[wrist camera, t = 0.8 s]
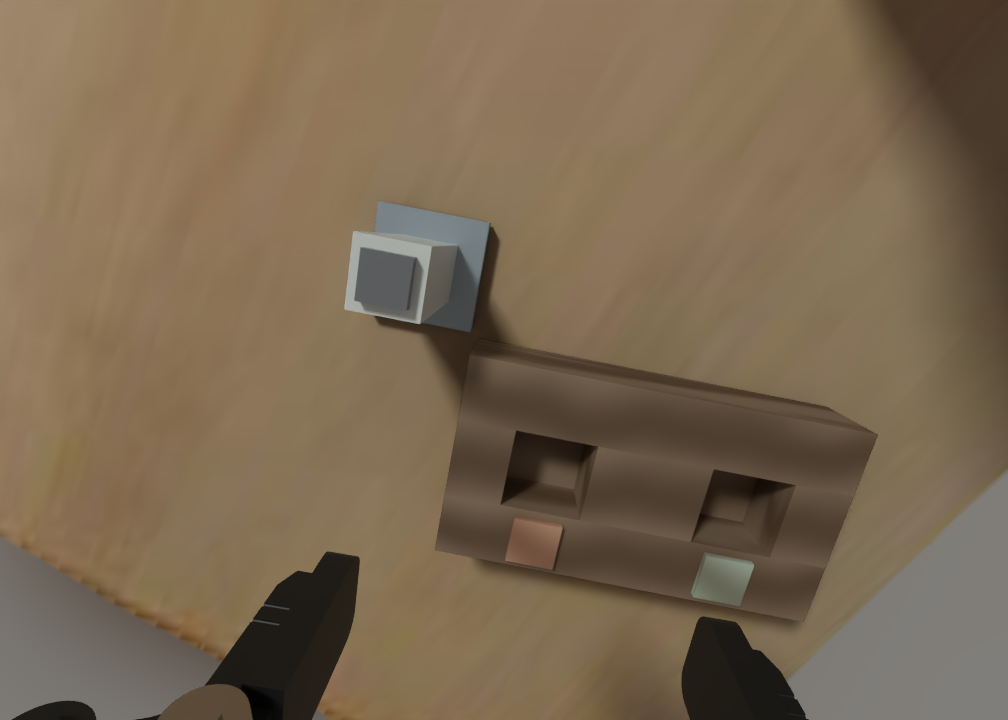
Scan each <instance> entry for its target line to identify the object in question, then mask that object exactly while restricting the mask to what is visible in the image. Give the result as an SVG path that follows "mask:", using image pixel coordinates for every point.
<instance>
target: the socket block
mask: <svg viewBox="0 0 1008 720" xmlns="http://www.w3.org/2000/svg"><path fill="white" fill-rule="evenodd" d="M877 436H878V434H876V433H874V432H872V431H870V430H868V429H867V428H865V427H863V426H861V425H859V424H857V423H856V422H854V421H852V420H850V419H848V418H846V417H845V416H843V415H841V414H839V413H837V412H835V411H834V410H832V409H830V408H828V407H825V406H820V405H815V404H810V403H805V402H800V401H795V400H789V399H784V398H779V397H774V396H769V395H764V394H759V393H754V392H749V391H744V390H738V389H733V388H728V387H723V386H718V385H713V384H708V383H703V382H698V381H693V380H688V379H682V378H677V377H672V376H667V375H662V374H657V373H652V372H647V371H642V370H637V369H631V368H626V367H621V366H616V365H611V364H606V363H601V362H596V361H591V360H586V359H580V358H575V357H570V356H565V355H560V354H555V353H550V352H545V351H540V350H535V349H530V348H524V347H519V346H514V345H509V344H504V343H499V342H494V341H489V340H484V339H479V338H478V339H477V341H476V343H475V345H474V347H473V349H472V351H471V353H470V356H469V362H468V367H467V373H466V378H465V384H464V390H463V395H462V401H461V406H460V412H459V417H458V423H457V429H456V434H455V440H454V445H453V451H452V456H451V462H450V468H449V473H448V479H447V484H446V490H445V495H444V501H443V506H442V512H441V518H440V523H439V529H438V534H437V540H436V545H435V550H436V551H442V552H447V553H452V554H457V555H462V556H467V557H472V558H478V559H483V560H488V561H493V562H498V563H503V564H508V565H514V566H519V567H524V568H529V569H534V570H539V571H544V572H550V573H555V574H560V575H565V576H570V577H575V578H580V579H586V580H591V581H596V582H601V583H606V584H611V585H616V586H622V587H627V588H632V589H637V590H642V591H647V592H652V593H658V594H663V595H668V596H673V597H678V598H683V599H688V600H694V601H699V602H704V603H709V604H714V605H719V606H724V607H730V608H735V609H740V610H745V611H750V612H755V613H761V614H766V615H771V616H776V617H781V618H786V619H791V620H797V621H802V622H804V621H805V618H806V615H807V613H808V610H809V608H810V605H811V603H812V600H813V598H814V595H815V593H816V590H817V588H818V585H819V583H820V580H821V578H822V575H823V573H824V570H825V568H826V565H827V562H828V560H829V557H830V555H831V552H832V550H833V547H834V545H835V542H836V540H837V537H838V535H839V532H840V530H841V527H842V525H843V522H844V520H845V517H846V515H847V512H848V509H849V507H850V504H851V502H852V499H853V497H854V494H855V492H856V489H857V487H858V484H859V482H860V479H861V477H862V474H863V472H864V469H865V467H866V464H867V462H868V459H869V456H870V454H871V451H872V449H873V446H874V444H875V441H876V439H877Z"/></svg>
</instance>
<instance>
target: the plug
mask: <svg viewBox="0 0 1008 720" xmlns="http://www.w3.org/2000/svg"><path fill="white" fill-rule="evenodd" d="M457 249H458V245H454V244H449V243H444V242H439V241H434V240H429V239H424V238H419V237H414V236H409V235H404V234H392V233H376V232H360V231H353V238H352V247H351V256H350V264H349V273H348V282H347V290H346V299H345V308H344V309H345V310H350V311H355V312H360V313H365V314H370V315H376V316H381V317H386V318H391V319H396V320H401V321H406V322H411V323H416V324H421V323H422V322H424V321H425V320H426V319H427V318H429V317H430V316H431V315H432V314H434V313H435V312H436V311H438V310H439V309H440V308H441V307H443V306H444V305H445V304H446V303H448V302H449V297H450V291H451V285H452V279H453V273H454V267H455V261H456V255H457Z"/></svg>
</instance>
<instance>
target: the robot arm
mask: <svg viewBox="0 0 1008 720" xmlns="http://www.w3.org/2000/svg"><path fill="white" fill-rule="evenodd" d="M359 564H360V560H359V557H358V556H352V555H346V554H340V553H334V552H326V553H325V554H324V556H323V557H322V559H321V560H320V562H319V563H318V565H317V566H316V568H315V570H314V571H313V573H308V572H302V571H296V572H295V573H294V574H292V575H291V576H289V577H288V578H286V579H285V580H284V581H282V582H281V583H279V584H278V585H277V586H276V587H275V589H274V590H273V592H272V593H271V594H270V596H269V597H268V599H267V600H266V601H265V603H264V606H263V607H261V608H260V610H259V611H258V613H257V614H256V615H255V617H254V618H253V621H252V622H250V624H249V625H248V626H247V628H246V629H245V631H244V632H243V633H242V635H241V636H240V638H239V639H238V640H237V642H236V643H235V645H234V646H233V647H232V649H231V650H230V652H229V653H228V654H227V656H226V657H225V659H224V660H223V661H222V663H221V664H220V666H219V667H218V668H217V670H216V671H215V672H214V674H213V675H212V677H211V678H210V680H209V681H208V682H207V683H206V685H205V686H203V687H199V688H197V689H194V690H192V691H190V692H188V693H186V694H184V695H182V696H181V697H179V698H178V699H176V700H175V701H174V702H173V703H171V704H170V705H169V706H168V707H167V708H166V709H165V710H164V711H163V712H162V714H160V715H157V716H153V717H149V718H143V719H137V720H312V718H313V715H314V713H315V711H316V709H317V707H318V704H319V702H320V700H321V698H322V695H323V693H324V691H325V689H326V686H327V684H328V682H329V680H330V678H331V675H332V673H333V671H334V669H335V666H336V664H337V662H338V660H339V657H340V655H341V653H342V651H343V648H344V646H345V644H346V642H347V639H348V636H349V633H350V630H351V627H352V623H353V618H354V613H355V604H356V594H357V584H358V574H359ZM682 694H683V699H684V702H685V705H686V708H687V711H688V714H689V717H690V720H808V719H806V717H805V713H804V711H803V709H802V707H801V706H800V704H799V702H798V700H796V699H794V694H793V692H792V690H791V688H790V687H789V685H788V683H787V682H786V680H785V678H784V676H783V675H782V673H781V672H780V670H779V669H778V668H777V667H776V666H775V665H774V664H773V663H772V662H771V661H770V660H769V659H768V658H767V657H766V656H765V655H764V654H763V653H762V652H761V651H758V650H753V649H752V648H751V646H750V644H749V642H748V641H747V639H746V637H745V635H744V633H743V631H742V629H741V628H740V626H739V625H738V624H737V623H736V622H733V621H727V620H721V619H715V618H710V617H704V616H703V617H700V618H699V620H698V622H697V624H696V627H695V631H694V634H693V637H692V640H691V644H690V647H689V650H688V653H687V657H686V660H685V663H684V666H683V670H682ZM12 720H96V716H95V713H94V711H93V710H92V708H90V707H89V706H88V705H86V704H84V703H82V702H76V701H59V702H54V703H49V704H45V705H42V706H39V707H36V708H34V709H32V710H29V711H27V712H25V713H23V714H21V715H19V716H17V717H16V718H14V719H12Z"/></svg>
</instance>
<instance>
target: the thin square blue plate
mask: <svg viewBox="0 0 1008 720" xmlns="http://www.w3.org/2000/svg"><path fill="white" fill-rule="evenodd" d="M490 225H491V223H488V222H483V221H478V220H473V219H468V218H463V217H458V216H453V215H448V214H442V213H437V212H432V211H427V210H422V209H417V208H412V207H407V206H402V205H397V204H392V203H387V202H382V201H378V208H377V216H376V224H375V232H376V233H392V234H404V235H409V236H414V237H419V238H424V239H429V240H434V241H439V242H444V243H449V244H454V245H458V249H457V255H456V261H455V267H454V273H453V279H452V285H451V291H450V297H449V302H448V303H446V304H445V305H444V306H443V307H441V308H440V309H439V310H438V311H436V312H435V313H434V314H432V315H431V316H430V317H429V318H427V319H426V320H425V321H424V322H422V323H425V324H430V325H435V326H440V327H445V328H450V329H456V330H461V331H466V332H471V330H472V326H473V320H474V315H475V309H476V303H477V298H478V292H479V287H480V281H481V275H482V270H483V264H484V259H485V253H486V247H487V242H488V236H489V231H490Z"/></svg>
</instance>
